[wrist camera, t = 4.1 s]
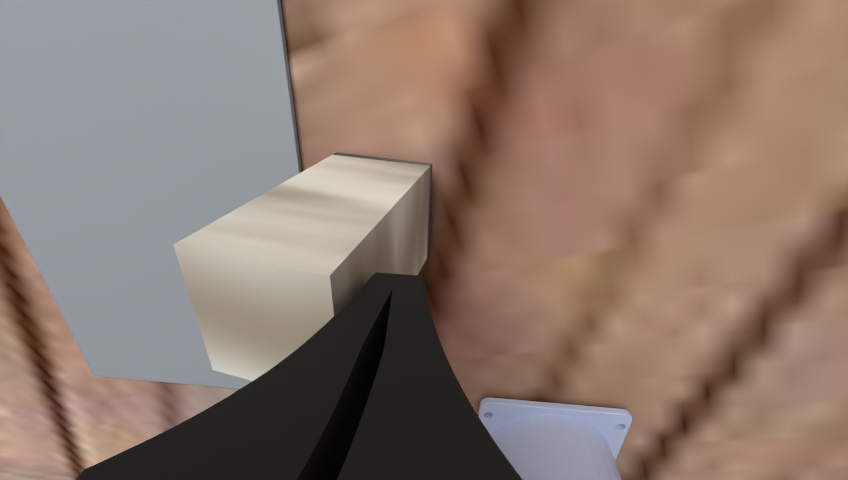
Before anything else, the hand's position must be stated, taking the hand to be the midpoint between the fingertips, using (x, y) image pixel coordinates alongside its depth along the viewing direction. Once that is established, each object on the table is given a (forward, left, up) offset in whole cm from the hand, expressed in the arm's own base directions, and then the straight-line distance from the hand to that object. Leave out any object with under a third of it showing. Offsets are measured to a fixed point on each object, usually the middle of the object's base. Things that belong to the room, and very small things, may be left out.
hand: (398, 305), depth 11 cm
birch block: (0, +1, -7) cm, 7 cm away
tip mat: (0, +12, -7) cm, 14 cm away
